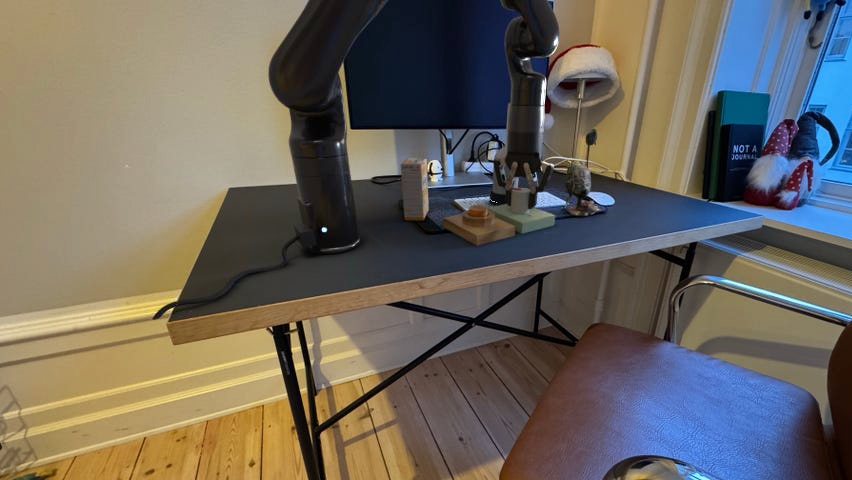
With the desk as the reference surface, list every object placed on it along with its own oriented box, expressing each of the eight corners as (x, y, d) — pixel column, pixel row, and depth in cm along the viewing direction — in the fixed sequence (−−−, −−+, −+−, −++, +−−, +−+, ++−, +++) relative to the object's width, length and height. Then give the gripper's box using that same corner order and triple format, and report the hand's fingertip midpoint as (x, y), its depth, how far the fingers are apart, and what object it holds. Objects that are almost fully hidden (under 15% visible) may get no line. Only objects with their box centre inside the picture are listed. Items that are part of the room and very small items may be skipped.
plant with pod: (552, 209, 96) (561, 128, 87) (588, 206, 99) (601, 127, 90) (569, 219, 89) (580, 131, 80) (607, 215, 92) (623, 130, 83)
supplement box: (424, 221, 86) (421, 163, 80) (404, 220, 86) (399, 163, 80) (429, 210, 93) (427, 157, 87) (410, 210, 93) (407, 156, 87)
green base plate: (521, 233, 79) (522, 222, 78) (485, 217, 89) (486, 207, 87) (554, 225, 85) (555, 214, 83) (517, 211, 94) (517, 201, 93)
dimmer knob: (531, 209, 87) (533, 187, 84) (527, 215, 83) (528, 191, 81) (513, 207, 88) (514, 185, 86) (508, 212, 84) (509, 189, 82)
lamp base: (476, 245, 73) (476, 226, 71) (443, 227, 82) (442, 209, 80) (514, 235, 78) (515, 217, 76) (479, 219, 88) (479, 203, 86)
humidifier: (522, 200, 103) (529, 103, 92) (515, 208, 96) (522, 104, 85) (494, 197, 105) (498, 102, 94) (486, 205, 98) (488, 102, 87)
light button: (476, 219, 76) (476, 211, 75) (465, 214, 79) (465, 206, 78) (491, 216, 78) (491, 208, 77) (480, 211, 81) (480, 204, 80)
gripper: (487, 128, 77) (486, 207, 85) (554, 132, 72) (546, 215, 80) (500, 125, 83) (498, 199, 91) (563, 128, 78) (554, 206, 86)
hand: (520, 206), depth 85 cm, fingers closed on dimmer knob, 4 cm apart
